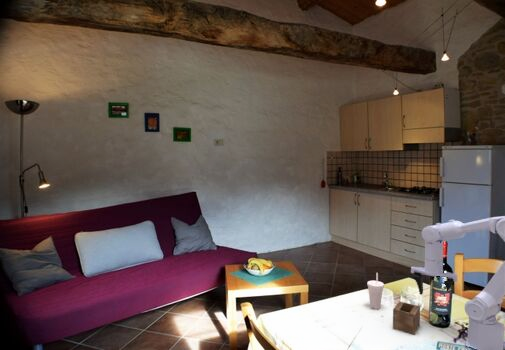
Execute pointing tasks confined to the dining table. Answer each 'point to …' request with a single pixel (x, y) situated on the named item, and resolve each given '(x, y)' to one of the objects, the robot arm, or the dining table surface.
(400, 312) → the box
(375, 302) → the smoothie
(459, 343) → the dining table surface
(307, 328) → the dining table surface
